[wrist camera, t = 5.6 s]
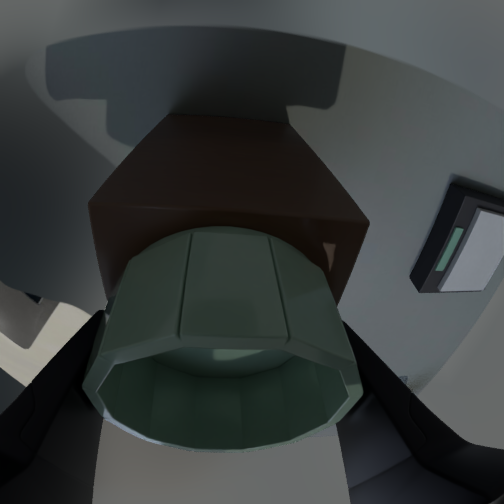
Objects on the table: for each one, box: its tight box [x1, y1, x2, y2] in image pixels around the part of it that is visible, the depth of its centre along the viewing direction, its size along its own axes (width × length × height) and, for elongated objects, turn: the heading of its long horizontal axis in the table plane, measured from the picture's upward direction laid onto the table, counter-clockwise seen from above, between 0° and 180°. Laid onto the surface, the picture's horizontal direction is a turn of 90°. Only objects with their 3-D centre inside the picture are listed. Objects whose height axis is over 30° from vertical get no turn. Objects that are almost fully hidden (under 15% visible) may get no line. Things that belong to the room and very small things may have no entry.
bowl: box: [82, 226, 364, 453], centre depth 8 cm, size 7×7×4 cm
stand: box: [88, 114, 370, 306], centre depth 14 cm, size 8×8×12 cm
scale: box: [410, 184, 504, 293], centre depth 23 cm, size 10×10×3 cm
